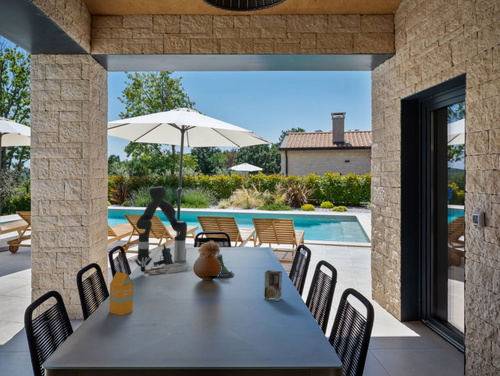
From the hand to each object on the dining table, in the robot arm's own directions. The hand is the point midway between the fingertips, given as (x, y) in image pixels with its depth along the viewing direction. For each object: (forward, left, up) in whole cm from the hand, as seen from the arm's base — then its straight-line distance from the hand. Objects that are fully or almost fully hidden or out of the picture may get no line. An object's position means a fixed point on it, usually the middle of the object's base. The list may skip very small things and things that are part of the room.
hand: (142, 271), depth 268 cm
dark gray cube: (-14, 0, -2) cm, 14 cm away
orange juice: (+41, +64, -2) cm, 76 cm away
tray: (-25, 0, -2) cm, 25 cm away
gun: (-25, -17, -2) cm, 30 cm away
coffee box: (-38, +94, -2) cm, 101 cm away
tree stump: (-46, +32, -2) cm, 56 cm away
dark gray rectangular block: (-9, 0, -2) cm, 9 cm away
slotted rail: (-10, 0, -2) cm, 10 cm away
